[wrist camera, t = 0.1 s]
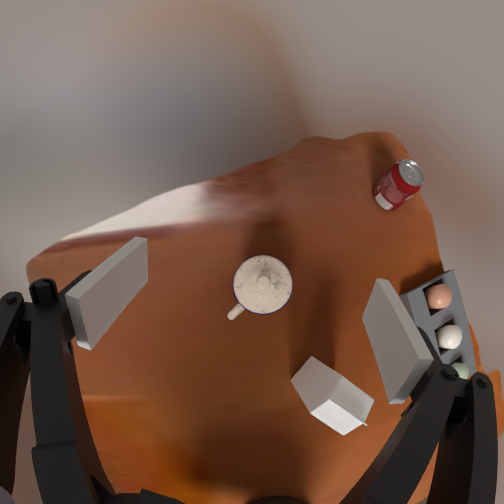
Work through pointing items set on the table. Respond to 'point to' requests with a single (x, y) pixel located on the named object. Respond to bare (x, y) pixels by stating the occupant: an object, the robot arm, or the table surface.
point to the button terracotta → (438, 296)
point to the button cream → (449, 336)
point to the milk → (331, 396)
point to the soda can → (398, 184)
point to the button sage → (461, 369)
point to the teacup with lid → (261, 286)
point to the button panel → (442, 319)
